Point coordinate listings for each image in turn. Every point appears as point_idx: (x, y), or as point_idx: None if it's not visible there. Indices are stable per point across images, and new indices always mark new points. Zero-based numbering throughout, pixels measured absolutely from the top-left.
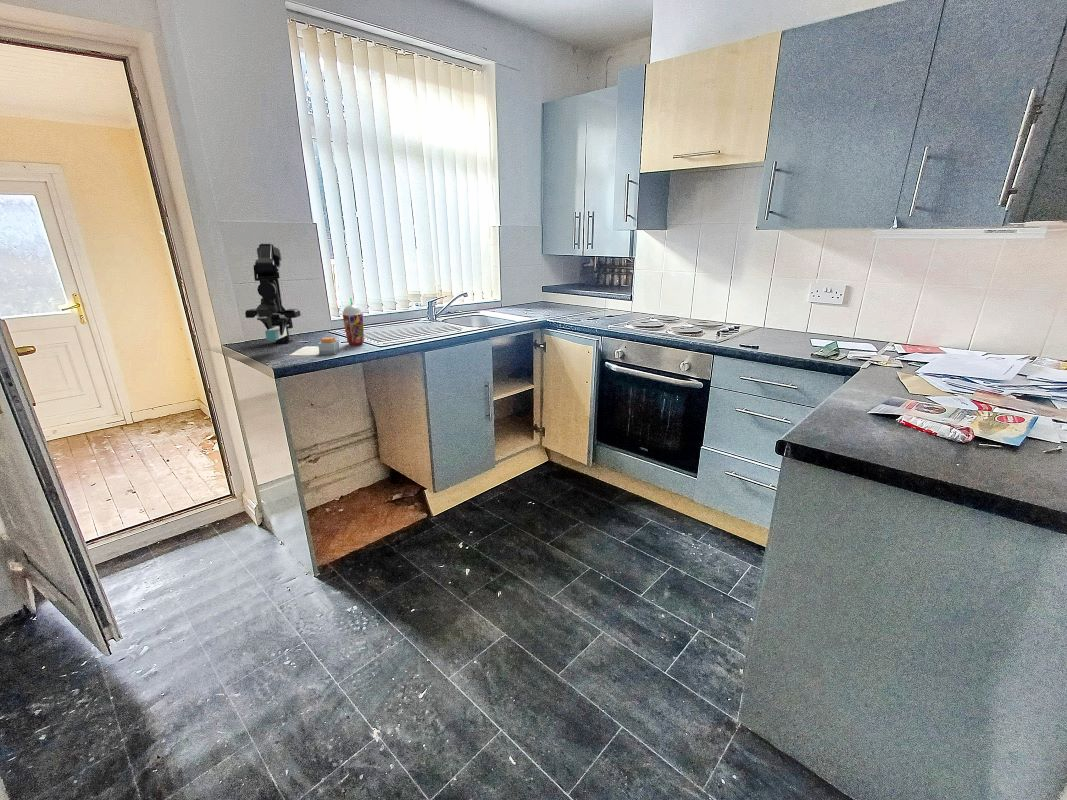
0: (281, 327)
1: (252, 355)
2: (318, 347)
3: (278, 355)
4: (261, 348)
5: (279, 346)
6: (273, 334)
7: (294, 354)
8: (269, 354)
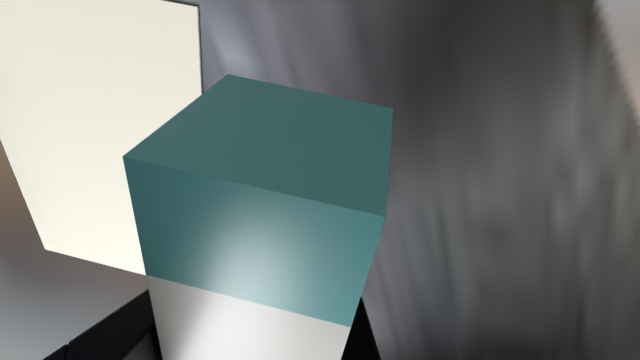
0: (84, 346)
1: (588, 86)
2: (102, 240)
3: (301, 26)
4: (501, 324)
5: (378, 338)
6: (212, 123)
7: (155, 32)
8: (406, 97)
